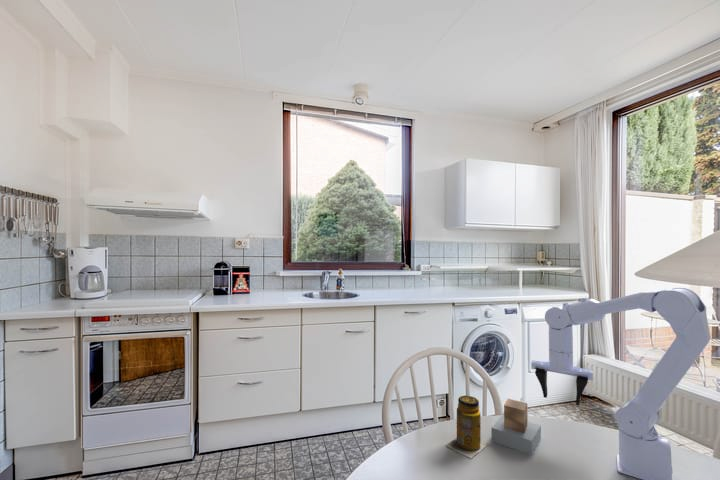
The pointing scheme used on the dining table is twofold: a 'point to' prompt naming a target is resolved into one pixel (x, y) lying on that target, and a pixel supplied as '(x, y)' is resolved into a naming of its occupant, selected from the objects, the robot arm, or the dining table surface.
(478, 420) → the condiment
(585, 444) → the dining table surface
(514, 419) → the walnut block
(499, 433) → the slate box
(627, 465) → the robot arm
